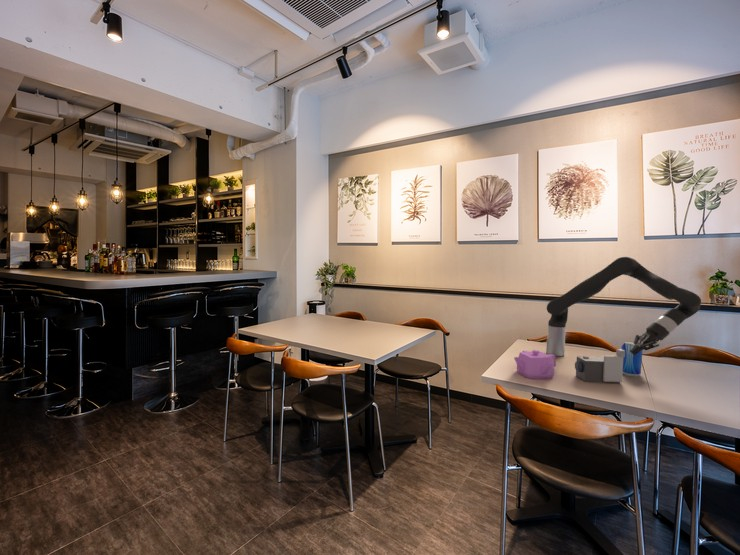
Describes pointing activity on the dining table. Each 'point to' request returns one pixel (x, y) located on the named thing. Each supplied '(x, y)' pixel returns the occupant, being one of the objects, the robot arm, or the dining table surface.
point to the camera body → (590, 369)
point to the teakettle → (535, 364)
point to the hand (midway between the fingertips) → (632, 353)
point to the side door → (613, 367)
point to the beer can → (631, 360)
